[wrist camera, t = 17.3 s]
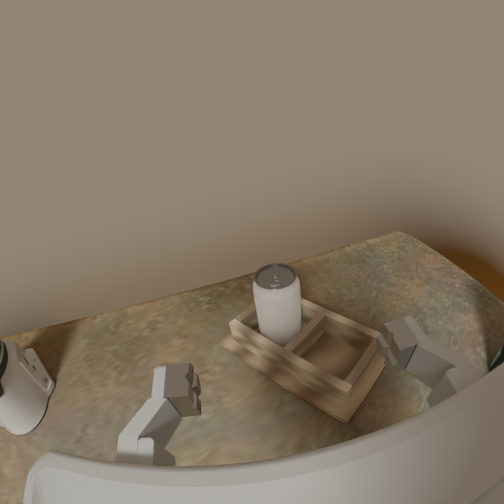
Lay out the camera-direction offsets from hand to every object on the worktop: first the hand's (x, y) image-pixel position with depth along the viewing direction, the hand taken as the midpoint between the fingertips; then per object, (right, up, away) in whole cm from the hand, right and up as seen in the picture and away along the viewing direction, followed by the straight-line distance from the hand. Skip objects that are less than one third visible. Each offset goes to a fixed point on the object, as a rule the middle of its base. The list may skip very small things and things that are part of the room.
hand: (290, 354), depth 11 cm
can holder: (+7, -11, +30) cm, 33 cm away
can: (+3, -9, +32) cm, 34 cm away
